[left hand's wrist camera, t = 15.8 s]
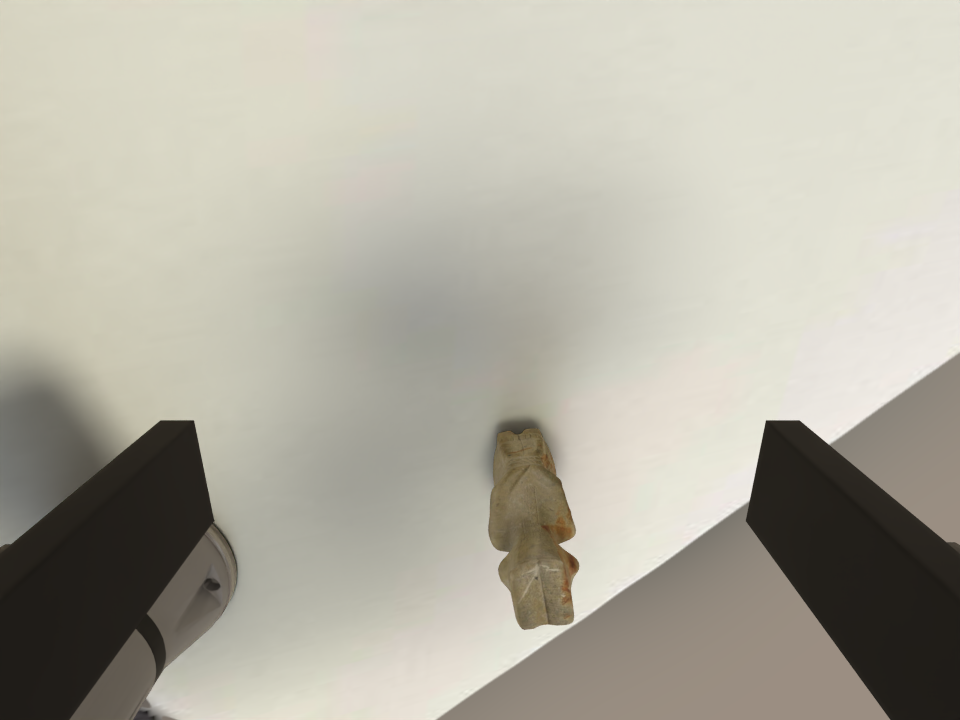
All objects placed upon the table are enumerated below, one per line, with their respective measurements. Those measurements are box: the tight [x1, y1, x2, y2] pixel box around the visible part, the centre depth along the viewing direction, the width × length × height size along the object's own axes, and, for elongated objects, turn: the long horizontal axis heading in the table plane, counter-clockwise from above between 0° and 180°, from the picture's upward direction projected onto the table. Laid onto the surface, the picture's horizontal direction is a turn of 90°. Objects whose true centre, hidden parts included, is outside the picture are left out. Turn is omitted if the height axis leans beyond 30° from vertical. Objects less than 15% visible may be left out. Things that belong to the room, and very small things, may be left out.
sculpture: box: [488, 428, 579, 630], centre depth 38 cm, size 6×7×15 cm
